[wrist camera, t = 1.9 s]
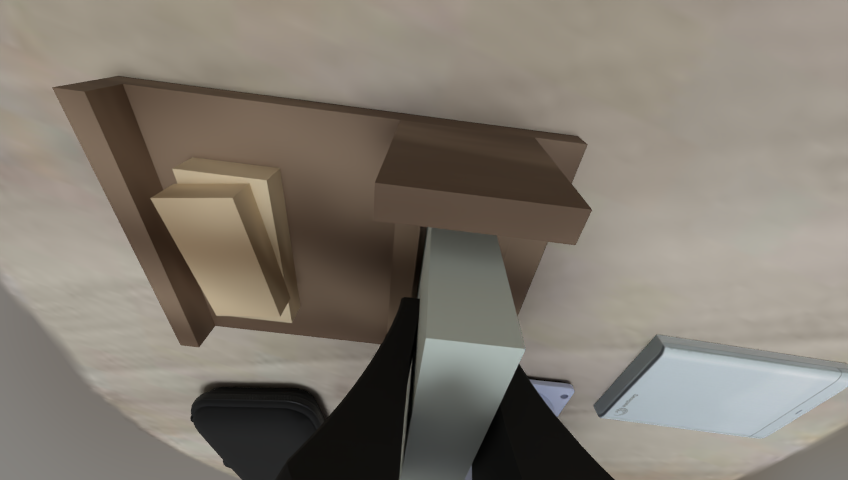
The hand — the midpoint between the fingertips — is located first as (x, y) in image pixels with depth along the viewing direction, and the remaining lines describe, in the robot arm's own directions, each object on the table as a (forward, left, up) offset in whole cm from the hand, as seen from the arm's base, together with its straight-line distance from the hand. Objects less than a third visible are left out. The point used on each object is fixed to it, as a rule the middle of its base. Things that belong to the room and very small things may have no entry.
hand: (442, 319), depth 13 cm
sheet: (0, 0, -3) cm, 3 cm away
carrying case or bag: (-21, +11, -5) cm, 25 cm away
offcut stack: (0, +9, -3) cm, 10 cm away
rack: (0, +4, -4) cm, 6 cm away
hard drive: (-8, -20, -5) cm, 22 cm away
